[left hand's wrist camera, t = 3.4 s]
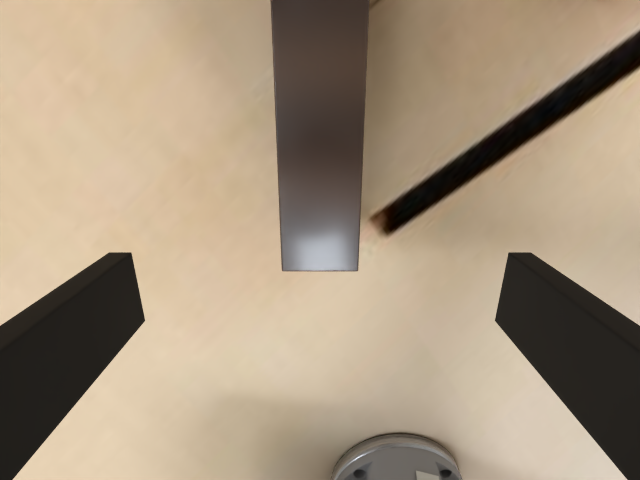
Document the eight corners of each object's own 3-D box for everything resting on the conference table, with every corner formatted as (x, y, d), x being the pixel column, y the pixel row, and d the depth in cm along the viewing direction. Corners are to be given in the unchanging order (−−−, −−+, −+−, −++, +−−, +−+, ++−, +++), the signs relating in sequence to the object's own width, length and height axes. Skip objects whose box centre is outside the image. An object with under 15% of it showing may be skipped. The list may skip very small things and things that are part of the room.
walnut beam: (347, 228, 31) (358, 271, 23) (292, 228, 31) (281, 271, 23) (360, -202, 22) (386, -400, 13) (279, -202, 22) (253, -400, 13)
